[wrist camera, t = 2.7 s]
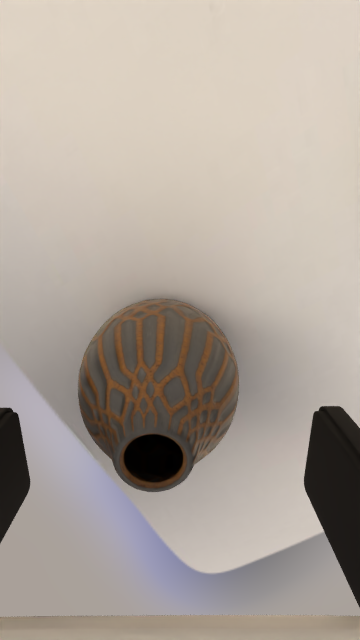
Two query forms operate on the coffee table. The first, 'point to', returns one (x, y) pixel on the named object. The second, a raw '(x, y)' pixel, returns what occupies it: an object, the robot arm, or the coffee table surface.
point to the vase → (158, 391)
